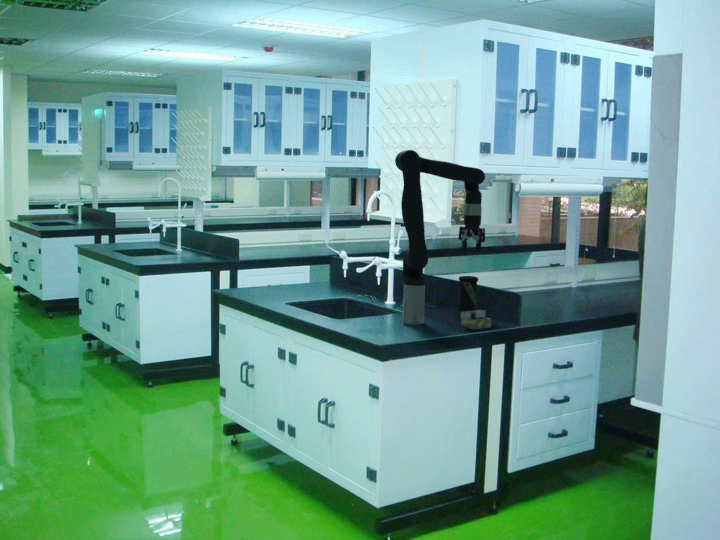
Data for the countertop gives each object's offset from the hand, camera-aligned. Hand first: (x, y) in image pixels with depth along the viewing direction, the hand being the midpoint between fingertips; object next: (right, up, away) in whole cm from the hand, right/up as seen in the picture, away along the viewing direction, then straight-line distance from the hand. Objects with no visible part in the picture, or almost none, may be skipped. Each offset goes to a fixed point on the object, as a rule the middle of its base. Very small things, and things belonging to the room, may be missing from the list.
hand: (471, 250), depth 334 cm
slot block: (+1, -33, -7) cm, 34 cm away
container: (0, -31, +12) cm, 33 cm away
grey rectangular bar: (+4, -28, -6) cm, 28 cm away
